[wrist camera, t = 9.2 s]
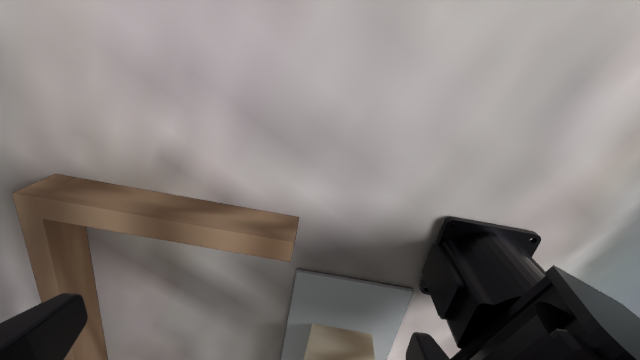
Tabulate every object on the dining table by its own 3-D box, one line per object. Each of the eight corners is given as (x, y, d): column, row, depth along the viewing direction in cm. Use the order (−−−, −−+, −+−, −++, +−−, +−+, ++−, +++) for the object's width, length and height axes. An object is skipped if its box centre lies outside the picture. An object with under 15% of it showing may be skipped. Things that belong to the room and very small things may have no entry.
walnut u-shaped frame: (299, 217, 21) (293, 242, 18) (265, 417, 30) (257, 454, 28) (55, 174, 20) (12, 192, 18) (98, 390, 30) (74, 424, 27)
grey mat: (412, 288, 23) (413, 291, 23) (366, 406, 29) (366, 409, 28) (297, 268, 23) (296, 271, 22) (274, 391, 29) (274, 394, 28)
